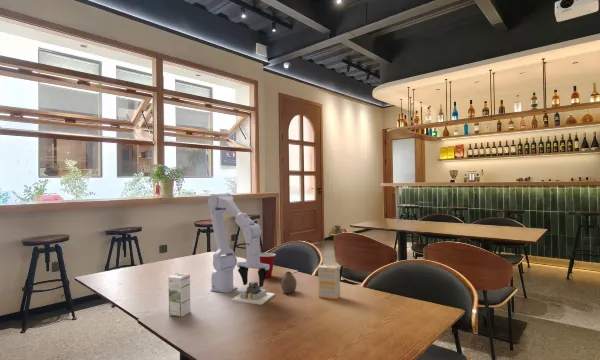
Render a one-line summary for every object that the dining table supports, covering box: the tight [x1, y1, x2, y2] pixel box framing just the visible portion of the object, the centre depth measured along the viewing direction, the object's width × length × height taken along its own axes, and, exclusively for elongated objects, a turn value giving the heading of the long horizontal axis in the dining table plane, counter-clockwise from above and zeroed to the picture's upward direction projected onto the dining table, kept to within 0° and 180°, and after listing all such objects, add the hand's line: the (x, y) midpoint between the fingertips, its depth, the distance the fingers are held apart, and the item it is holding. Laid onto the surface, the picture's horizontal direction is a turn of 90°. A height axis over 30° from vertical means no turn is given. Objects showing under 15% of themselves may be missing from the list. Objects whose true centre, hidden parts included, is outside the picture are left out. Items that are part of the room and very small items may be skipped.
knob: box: [246, 281, 261, 299], centre depth 141 cm, size 6×4×6 cm
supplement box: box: [317, 264, 341, 301], centre depth 141 cm, size 8×5×13 cm, turn 65°
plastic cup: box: [258, 252, 277, 279], centre depth 174 cm, size 11×11×12 cm
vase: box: [280, 271, 297, 294], centre depth 149 cm, size 7×7×9 cm
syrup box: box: [167, 272, 192, 318], centre depth 126 cm, size 6×6×14 cm
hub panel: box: [231, 288, 276, 306], centre depth 142 cm, size 14×12×3 cm
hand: (253, 285), depth 142 cm, fingers open, 7 cm apart
